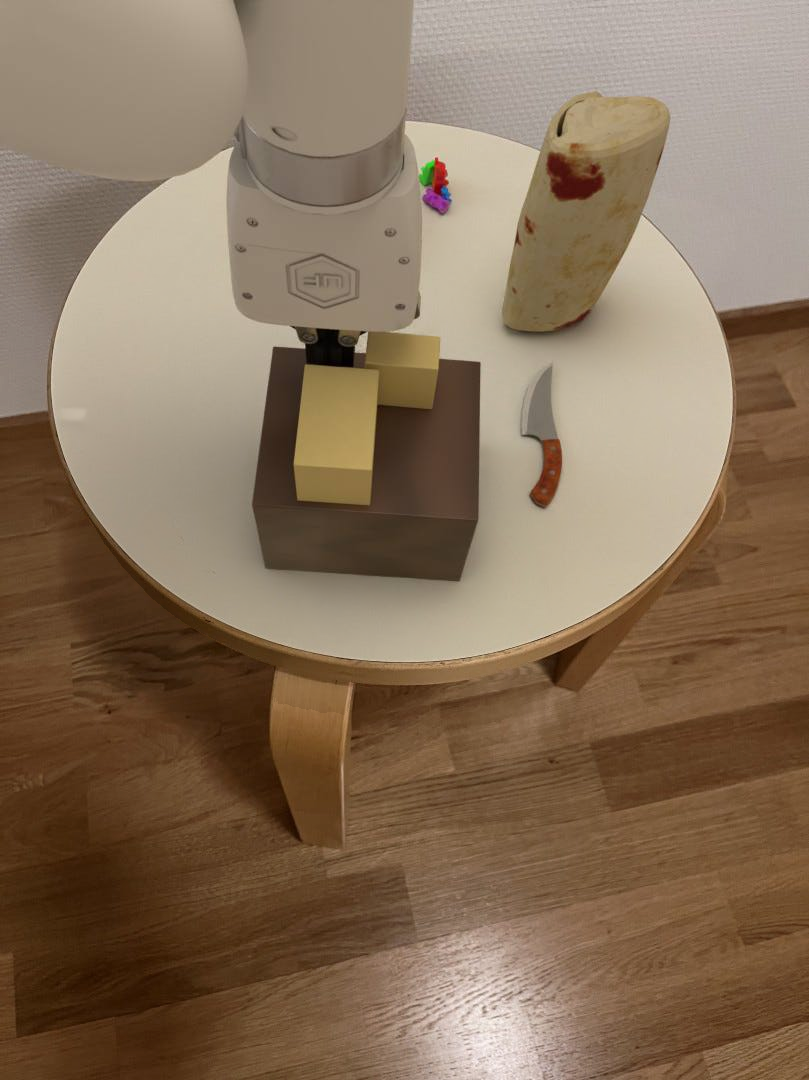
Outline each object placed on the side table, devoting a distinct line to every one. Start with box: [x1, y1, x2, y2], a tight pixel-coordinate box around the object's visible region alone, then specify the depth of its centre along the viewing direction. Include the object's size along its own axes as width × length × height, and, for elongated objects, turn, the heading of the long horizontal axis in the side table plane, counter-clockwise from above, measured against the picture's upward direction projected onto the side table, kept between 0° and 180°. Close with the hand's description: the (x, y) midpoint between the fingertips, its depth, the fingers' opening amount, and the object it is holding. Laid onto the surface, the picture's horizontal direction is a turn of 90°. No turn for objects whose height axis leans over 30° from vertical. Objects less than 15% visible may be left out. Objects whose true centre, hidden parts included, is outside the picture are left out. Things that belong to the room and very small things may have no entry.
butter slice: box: [365, 331, 441, 409], centre depth 57 cm, size 4×2×4 cm, turn 86°
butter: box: [294, 365, 379, 505], centre depth 55 cm, size 4×7×4 cm, turn 177°
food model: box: [501, 90, 671, 332], centre depth 66 cm, size 10×7×20 cm
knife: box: [521, 360, 563, 508], centre depth 70 cm, size 13×1×3 cm
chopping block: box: [251, 345, 482, 582], centre depth 62 cm, size 14×12×10 cm
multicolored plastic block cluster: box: [419, 156, 453, 214], centre depth 79 cm, size 5×3×4 cm, turn 5°
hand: (331, 365), depth 58 cm, fingers closed
